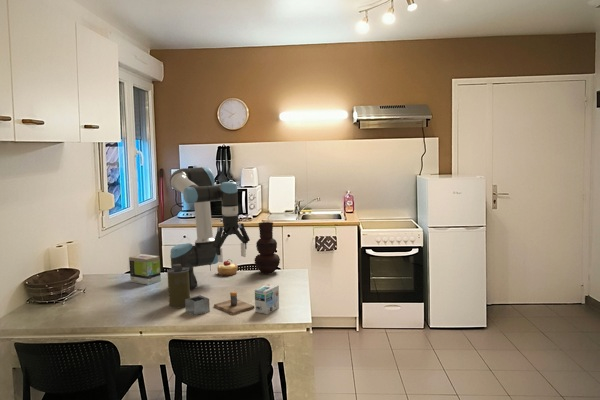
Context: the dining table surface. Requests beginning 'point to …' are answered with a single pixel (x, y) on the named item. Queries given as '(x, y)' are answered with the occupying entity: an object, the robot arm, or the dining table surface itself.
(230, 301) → the wooden base with peg
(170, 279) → the canister
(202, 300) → the grey hollow block
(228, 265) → the pastry
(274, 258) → the vase
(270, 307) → the light bulb box
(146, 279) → the tea box
